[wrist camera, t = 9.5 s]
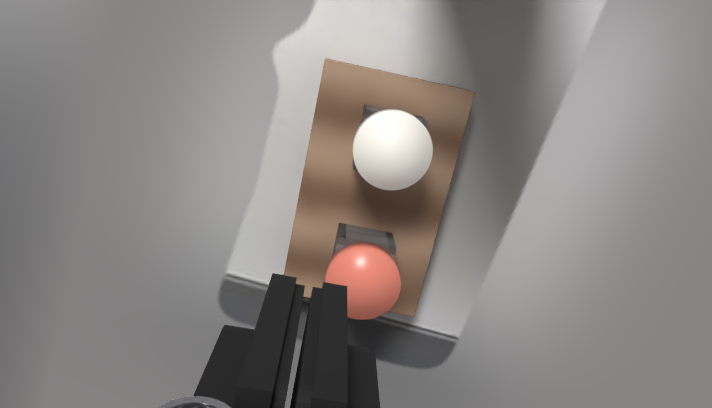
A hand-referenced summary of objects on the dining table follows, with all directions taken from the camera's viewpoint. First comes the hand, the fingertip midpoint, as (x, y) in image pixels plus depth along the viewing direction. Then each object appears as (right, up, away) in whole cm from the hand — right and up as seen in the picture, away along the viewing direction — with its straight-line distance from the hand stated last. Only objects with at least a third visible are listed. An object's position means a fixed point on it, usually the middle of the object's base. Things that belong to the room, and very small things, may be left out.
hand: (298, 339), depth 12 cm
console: (+3, +4, +35) cm, 35 cm away
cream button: (+4, +8, +30) cm, 31 cm away
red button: (+2, -1, +32) cm, 32 cm away
